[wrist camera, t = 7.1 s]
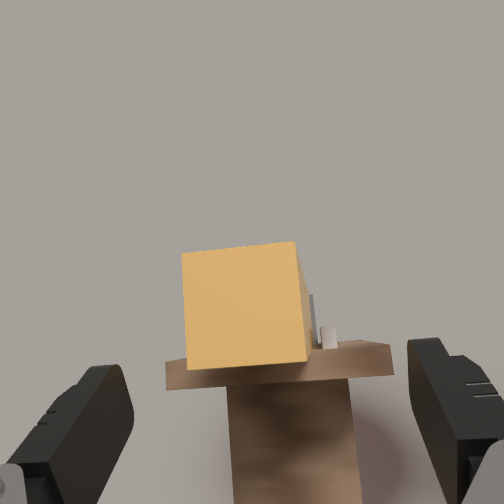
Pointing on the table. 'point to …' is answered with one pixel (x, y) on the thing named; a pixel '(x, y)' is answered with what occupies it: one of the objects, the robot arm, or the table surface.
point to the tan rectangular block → (247, 307)
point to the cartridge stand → (293, 421)
